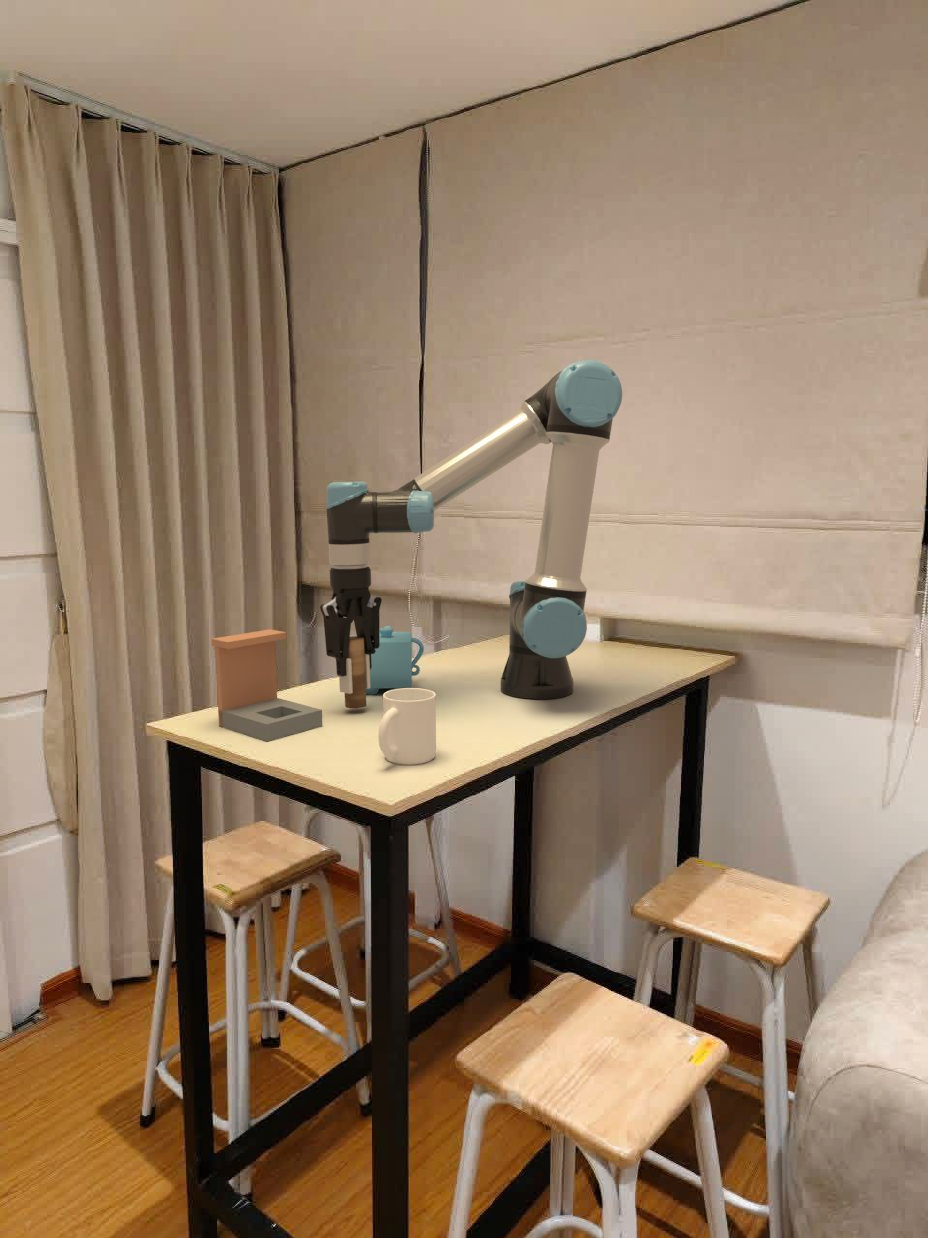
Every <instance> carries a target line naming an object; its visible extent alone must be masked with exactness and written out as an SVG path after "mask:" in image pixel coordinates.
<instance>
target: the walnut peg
mask: <svg viewBox="0 0 928 1238" xmlns="http://www.w3.org/2000/svg"><path fill="white" fill-rule="evenodd" d="M347 658H350V659H351V665H352V689H353V693H351V694H348V693H344V707H345V708H346V709H351V710H352V709H354V710H355V709H356V710H357V709H363V708H365V707H366V706H367V694H366V690H367V689H366V682H365V655H364V637H359V636H357V635H355V636H350V639H349V648H348V657H347Z"/></svg>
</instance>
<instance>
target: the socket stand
mask: <svg viewBox="0 0 928 1238" xmlns="http://www.w3.org/2000/svg"><path fill="white" fill-rule="evenodd" d="M287 638H288V637H287V632H286V631H281V630H276V629H271V628H270V629H264V630H259V631H251V632H245V633H239V634H233V635H227V636H220V637H214V638H211V646H213V647H214V649H215V671H216V673H215V674H216V689H217V690H216V691H217V712H218V713H217V714H218V715H217V716H218V727H220V728H224V729H226V730H230V731H233V732H235V733H239V734H243V735H245V736H248V737H251V738H255V739H258V740H260V741H264V742H271V741H275V740H278V739H281V738H282V739H283V738H285V737H288V736H293V735H295V734H298V733H303V732H306V731H309V730H314V729H316V728H320V727H321V728H322V727H323V709H321V708H316V707H313V706H310V705H305V704H302V703H298V702H293V701H290V700H287V699H283V698H281V697H280V698H279V697H278V685H277V684H278V683H277V682H278V681H277V658H276V657H277V656H276V655H277V653H276V641H281V640H282V641H283V640H287Z"/></svg>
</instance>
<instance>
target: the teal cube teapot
mask: <svg viewBox="0 0 928 1238" xmlns="http://www.w3.org/2000/svg"><path fill="white" fill-rule="evenodd" d="M379 636H380V645H379V648H378V649H374V650H376V652H375V653H374V654H371V662H372V663H371V664H372V667H371V670H370V688H369V689H366V695H376V694H378V692H379V689H401V688H413V677H416V676H418V675H419V674H420V673H421V672H420V671H421V669H420V667H419V666H420V665H418V664H417V663H418V661H419V660H420V659H421V657H422V656H423V655H424V649H425V647H424V644H423V642H422V641H421V640H420V639H419V638H416V637H412V631H394V628H392V627H391V626H390V625H385V626H384V627H379ZM412 643H415V644H416V645H418V646H419V650H418V651H417V654H416V655H415V657H414V658H413V656H412V655H413V654H412V649H413V648H412V647H413V646H412ZM414 668H415V669H416V670H415V671H413V669H414Z"/></svg>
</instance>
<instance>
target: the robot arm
mask: <svg viewBox="0 0 928 1238" xmlns="http://www.w3.org/2000/svg"><path fill="white" fill-rule="evenodd" d="M622 400H623V388H622V383H621V381H620V379H619V377H618V375H617V374H616V372H615V371H614V370H613V369H612V368H611V367H610V366H609V365H608V364H606V363H603V362H601V361H598V360H593V359H586V360H585V359H584V360H578V361H574V362H572V363H570V364H568V365H567V366H566V367H565V368H564V369H563V370H561V371H559V372H558V373H556V374H555V375H554V376H553V377H552V378H550V380H548V382H547V383H546V384H545V385H543V386H542V387H540V389H538V390H537V391H536V392H535V393H533V394H532V395H531V396H530V397H528V398H527V399H526V400H524V401H522V402H521V404H520V405H521V406H520V408H519V410H518V411H516V412H515V413H513V414H512V415H510V416H508V417H507V418H505V419H504V420H502V421H501V422H499V423H497V424H496V425H495V426H493V427H491V428H490V429H488V430H487V431H485V432H484V433H482V434H481V435H479V436H478V437H476V438H475V439H472V441H470V442H468V443H467V444H465V445H464V446H462V447H461V448H459V449H457V450H456V451H454V452H453V453H451V454H450V455H449V456H447V457H445V458H444V459H442V460H441V461H439V462H438V463H436V464H434V465H433V466H432V467H430V468H428V469H426V470H425V471H423V472H422V473H420V474H419V475H418V476H416V477H415V478H413V479H412V480H410V481H408V482H407V483H405V484H404V485H402V486H400V487H399V488H397V489H394V490H393V491H380V492H376V491H369V488H368V483H367V482H366V481H334V482H331V483H329V484H328V485H327V486H326V506H325V508H326V509H325V511H326V523H327V537H328V538H327V539H328V560H329V562H328V563H329V565H330V566H332V567H331V568H330V569H329V583H330V588H331V590H332V596H331V600H330V601H329V602H327V603H322V604H320V606H319V608H320V612H321V614H322V617H323V627H324V641H325V652H326V656H327V657H331V658H334V659H335V665H336V675H337V676H338V677H339V678H338V681H339V692H340V693H344V694H345V693H348V694H351V693H353V689H352V665H351V659H350V658H347V657H348V648H349V639H350V637H351V626H352V623H354V628H355V634H356V636H359V637H364V655H365V682H366V690H367V689H369V688H370V670H371V667H372V664H371V663H372V662H371V654H374V653H375V652H376V650H374V649H378V648H379V645H380V636H379V632H380V631H379V629H380V609H381V604H382V597H380V596H373V595H371V592H370V588H369V587H371V586H372V572H371V571H372V570H371V568H370V566H368V565H369V564H370V563H371V548H370V547H371V546H370V534H380V533H381V534H384V533H385V534H393V533H395V534H396V533H397V534H399V533H405V534H406V533H413V534H418V533H424V532H425V533H426V532H431V531H432V530H433V529H434V527H435V511H436V510H439V509H440V508H442V506H444V505H446V504H447V503H449V502H451V501H452V500H454V499H455V498H457V497H459V496H460V495H462V494H463V493H465V492H466V491H468V490H469V489H471V488H472V487H474V486H476V485H477V484H478V483H481V482H482V481H483V480H484V479H487V478H488V477H490V476H491V475H493V474H494V473H496V472H497V471H499V470H501V469H502V468H504V467H505V466H507V465H509V464H510V463H512V462H513V461H515V460H516V459H518V458H519V457H521V456H522V455H524V454H525V453H527V452H528V451H530V450H531V449H533V448H535V447H537V446H538V445H539V444H544V445H549V444H550V443H552V448H551V449H552V450H551V456H550V462H549V470H548V471H549V472H548V476H547V477H548V478H547V483H546V492H545V499H544V506H543V511H542V512H543V513H542V519H541V527H540V533H539V541H538V546H537V547H538V549H537V554H536V560H535V561H536V562H535V568H534V573H533V574H532V575H531V576H529V577H527V578H526V579H525V581H524V580H522V581H513V582H512V583H511V584H510V588H509V590H510V591H509V594H508V598H509V652H508V657H507V659H506V662H505V666H504V669H503V673H502V676H501V677H500V691H501V693H503V694H505V695H508V696H511V697H514V698H521V699H528V700H529V699H534V700H535V699H536V700H547V699H548V700H550V699H551V700H552V699H558V698H564V697H567V696H570V695H571V694H572V693H574V678H573V677H572V673H571V668H570V666H569V662H568V658H567V656H569V655H570V654H573V653H574V652H575V651H577V650H578V648H580V646H581V645H582V644H583V642H584V640H585V638H586V635H587V630H588V624H587V623H588V622H587V617H586V616H587V615H586V613H585V612H584V611H585V604H586V596H587V590H588V589H587V586H586V585H585V584H584V582H583V581H582V579H581V574H582V569H583V562H584V555H585V550H586V541H587V536H588V535H587V534H588V530H589V521H590V516H591V514H590V513H591V508H592V501H593V497H594V496H593V494H594V489H595V482H596V481H595V480H596V474H597V468H598V463H599V454H600V451H601V449H603V448H604V447H605V446H606V445H607V444H609V442H610V438H611V431H612V426H613V425H612V424H613V420H614V418H615V416H617V414H618V412H619V410H620V407H621V405H622Z"/></svg>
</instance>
